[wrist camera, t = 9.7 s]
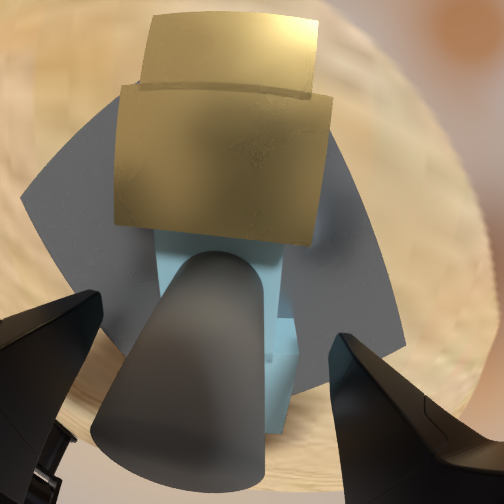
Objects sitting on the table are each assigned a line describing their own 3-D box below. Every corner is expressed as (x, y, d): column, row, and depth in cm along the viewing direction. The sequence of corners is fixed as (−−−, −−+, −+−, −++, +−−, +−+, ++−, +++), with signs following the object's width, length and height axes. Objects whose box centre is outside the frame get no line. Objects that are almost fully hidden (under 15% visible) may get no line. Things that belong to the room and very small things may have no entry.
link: (280, 400, 14) (285, 534, 6) (177, 392, 14) (142, 518, 7) (311, 127, 9) (478, 82, 1) (150, 126, 9) (-52, 123, 1)
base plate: (403, 335, 13) (439, 395, 9) (194, 412, 16) (181, 470, 12) (261, 21, 8) (262, -44, 4) (29, 194, 11) (-35, 219, 7)
